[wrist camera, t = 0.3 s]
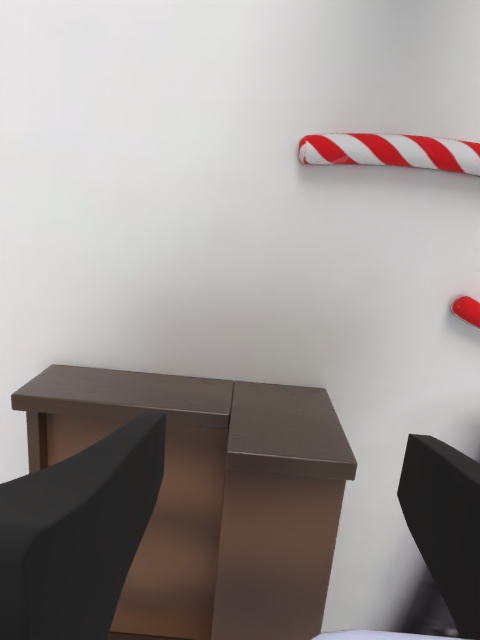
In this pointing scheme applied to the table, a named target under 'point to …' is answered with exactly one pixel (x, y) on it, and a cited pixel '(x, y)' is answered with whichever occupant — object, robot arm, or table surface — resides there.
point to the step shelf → (212, 497)
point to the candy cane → (399, 154)
